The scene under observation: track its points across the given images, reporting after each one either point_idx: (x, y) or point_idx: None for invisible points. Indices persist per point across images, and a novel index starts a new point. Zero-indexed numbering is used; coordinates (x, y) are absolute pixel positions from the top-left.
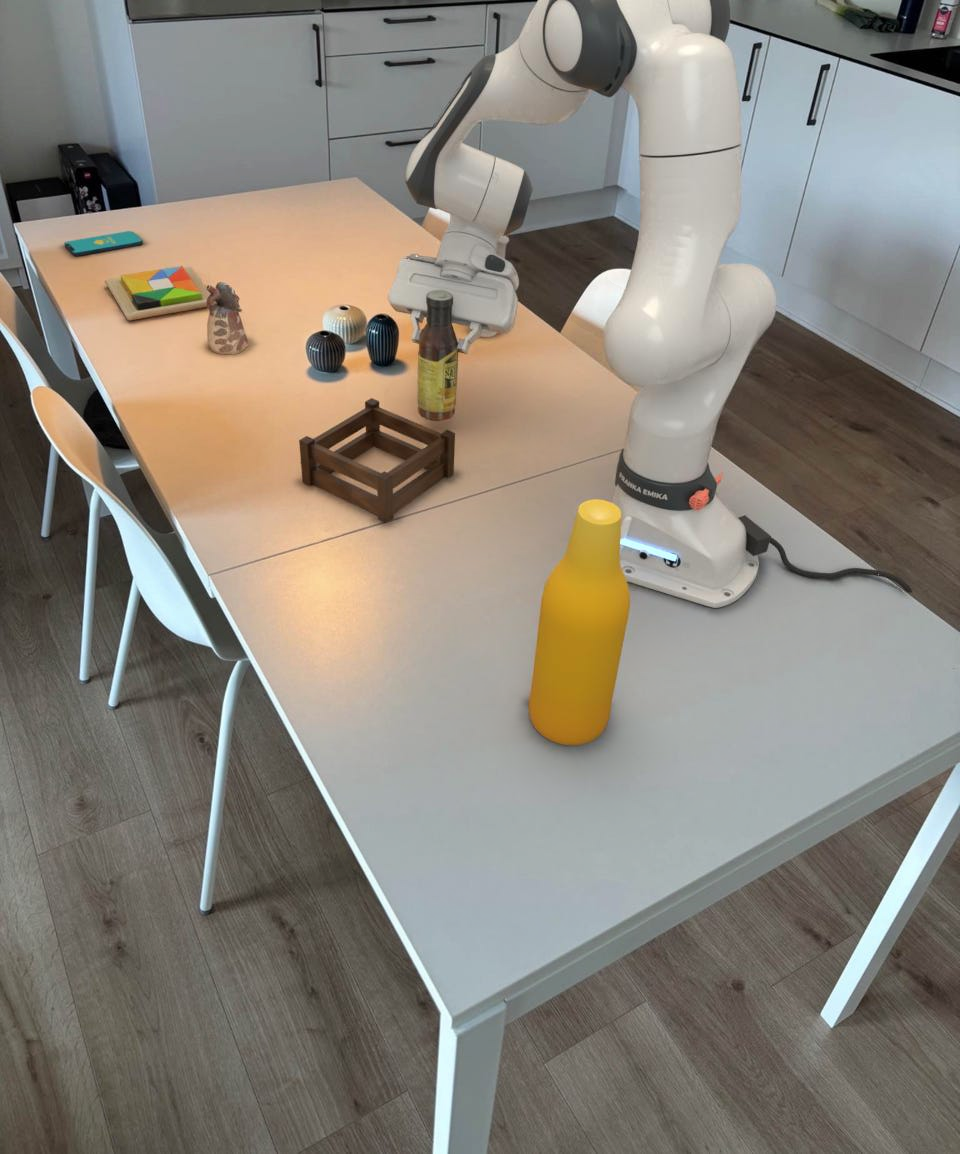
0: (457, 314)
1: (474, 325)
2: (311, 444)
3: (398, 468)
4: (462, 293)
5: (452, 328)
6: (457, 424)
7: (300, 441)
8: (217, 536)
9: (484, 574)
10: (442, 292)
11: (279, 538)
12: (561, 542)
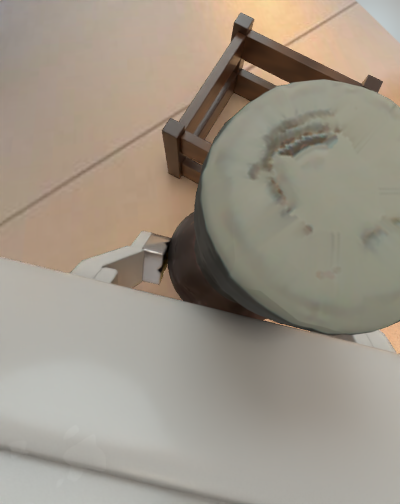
0: (172, 303)
1: (90, 276)
2: (362, 84)
3: (230, 48)
4: (134, 460)
5: (188, 242)
6: (178, 297)
7: (379, 80)
8: (377, 44)
9: (119, 19)
10: (326, 266)
11: (322, 47)
12: (37, 69)
